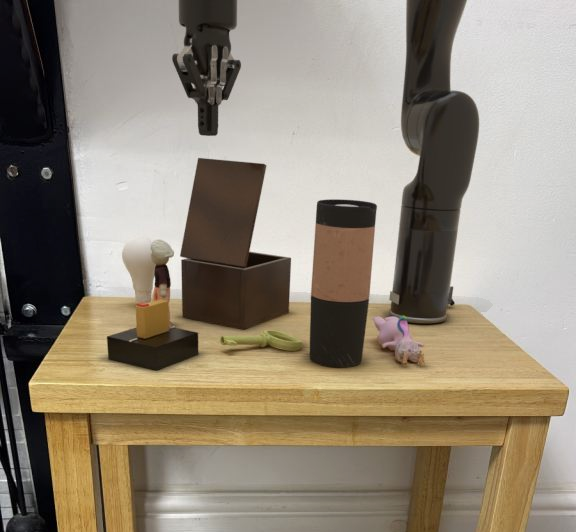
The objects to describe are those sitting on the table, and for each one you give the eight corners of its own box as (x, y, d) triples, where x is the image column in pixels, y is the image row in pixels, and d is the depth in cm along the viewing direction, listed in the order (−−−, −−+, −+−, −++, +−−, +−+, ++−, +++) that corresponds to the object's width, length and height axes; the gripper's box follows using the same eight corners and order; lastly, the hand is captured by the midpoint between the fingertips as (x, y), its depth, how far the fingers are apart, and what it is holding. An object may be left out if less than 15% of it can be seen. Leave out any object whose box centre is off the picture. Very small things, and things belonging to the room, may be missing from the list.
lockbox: (230, 302, 133) (230, 248, 129) (288, 312, 128) (291, 257, 124) (182, 317, 123) (181, 259, 119) (244, 329, 118) (245, 269, 114)
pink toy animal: (432, 375, 106) (398, 329, 118) (441, 334, 103) (405, 290, 114) (389, 376, 105) (359, 329, 116) (396, 335, 101) (364, 290, 113)
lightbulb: (170, 306, 129) (168, 236, 124) (145, 312, 124) (142, 240, 119) (142, 300, 132) (139, 231, 127) (117, 306, 127) (112, 235, 122)
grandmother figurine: (145, 322, 119) (142, 235, 113) (170, 321, 120) (168, 235, 114) (154, 335, 113) (151, 244, 107) (180, 334, 114) (178, 244, 108)
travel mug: (299, 353, 108) (306, 199, 99) (349, 350, 110) (361, 199, 101) (320, 370, 102) (331, 206, 92) (373, 366, 104) (388, 206, 95)
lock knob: (160, 329, 105) (159, 297, 103) (169, 331, 104) (168, 298, 102) (136, 337, 101) (135, 304, 99) (145, 338, 100) (143, 305, 98)
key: (216, 351, 107) (216, 336, 106) (275, 336, 115) (276, 321, 114) (254, 363, 103) (255, 347, 102) (313, 346, 111) (314, 332, 110)
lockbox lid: (200, 159, 116) (197, 157, 116) (266, 165, 111) (264, 163, 111) (182, 257, 119) (179, 256, 118) (246, 267, 114) (243, 266, 113)
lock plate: (152, 343, 109) (151, 321, 108) (199, 354, 106) (198, 331, 104) (107, 359, 102) (106, 335, 100) (156, 370, 98) (155, 346, 97)
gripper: (201, -24, 93) (202, 137, 101) (260, -9, 103) (256, 136, 111) (151, -23, 96) (156, 134, 104) (213, -8, 106) (213, 133, 114)
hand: (208, 135), depth 107 cm, fingers closed
